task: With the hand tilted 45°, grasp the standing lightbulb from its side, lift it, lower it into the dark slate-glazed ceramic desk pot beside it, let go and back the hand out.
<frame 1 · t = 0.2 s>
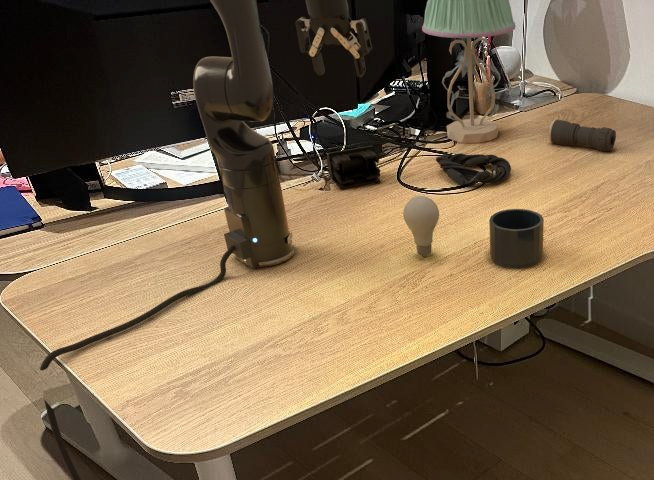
hand: (341, 75, 148), 22 cm above the table, tool pointing down, fingers open, 8 cm apart
lightbulb: (424, 257, 133), on the table
pot: (516, 256, 132), on the table
table lamp: (472, 135, 188), on the table
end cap: (356, 182, 163), on the table
cable: (473, 175, 165), on the table
flashlight: (581, 147, 179), on the table
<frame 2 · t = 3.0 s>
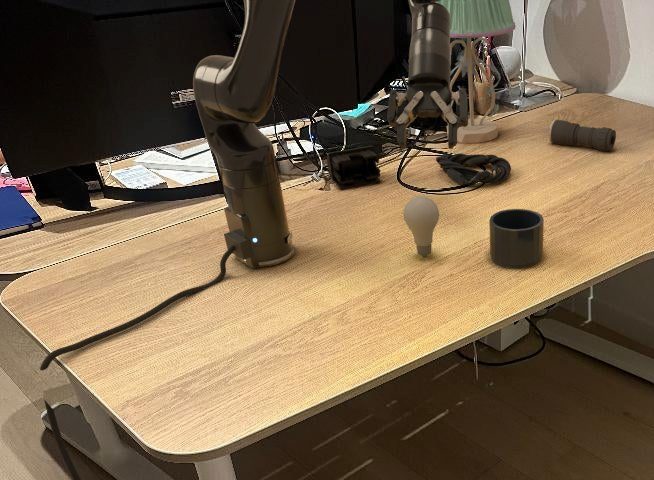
hand: (426, 147, 133), 16 cm above the table, tool tilted 45°, fingers open, 8 cm apart
nothing on the table moved.
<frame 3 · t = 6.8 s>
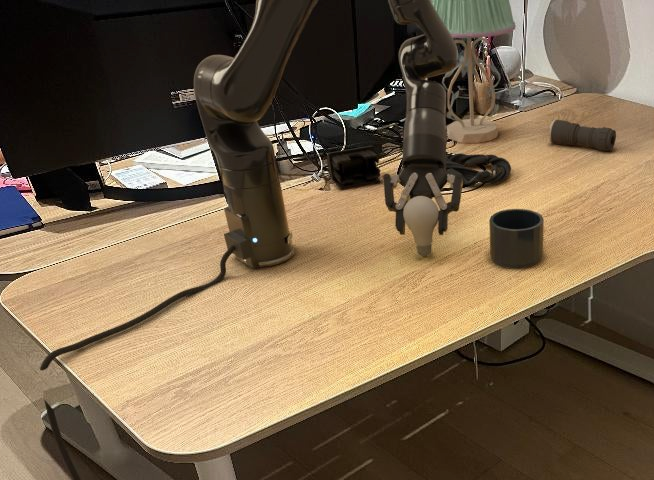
hand: (421, 233, 128), 5 cm above the table, tool tilted 45°, fingers closed on lightbulb, 6 cm apart
lightbulb: (424, 257, 133), on the table, touching gripper
everything else where it was.
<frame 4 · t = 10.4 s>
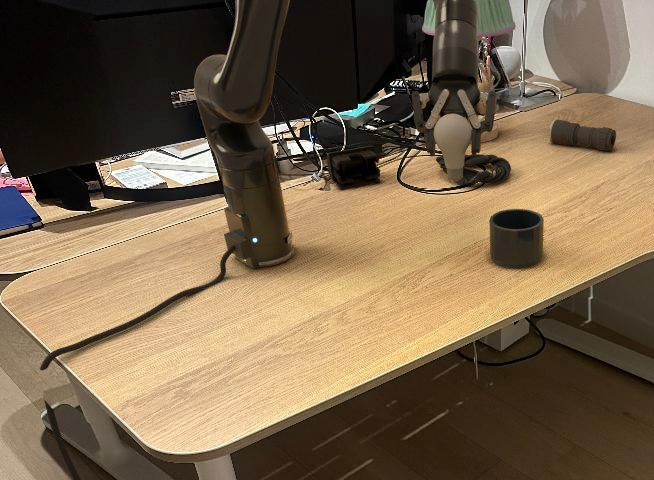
hand: (453, 154, 120), 19 cm above the table, tool tilted 45°, fingers closed on lightbulb, 6 cm apart
lightbulb: (455, 182, 125), point 13 cm above the table, touching gripper
everything else where it was.
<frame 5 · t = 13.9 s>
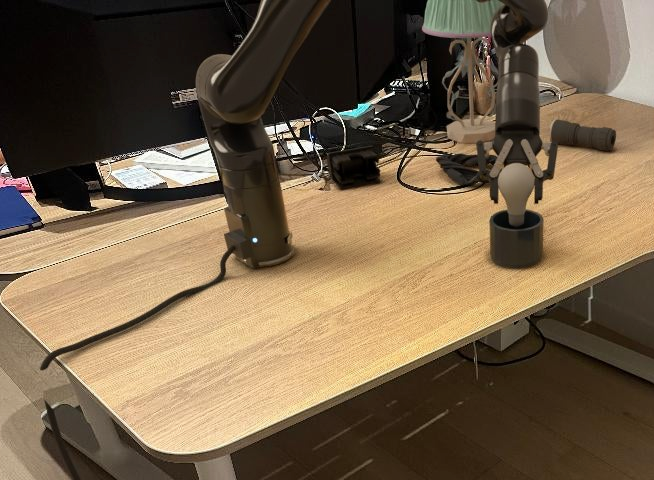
hand: (516, 201, 124), 11 cm above the table, tool tilted 45°, fingers closed on lightbulb, 6 cm apart
lightbulb: (516, 227, 129), point 5 cm above the table, touching gripper
everything else where it was.
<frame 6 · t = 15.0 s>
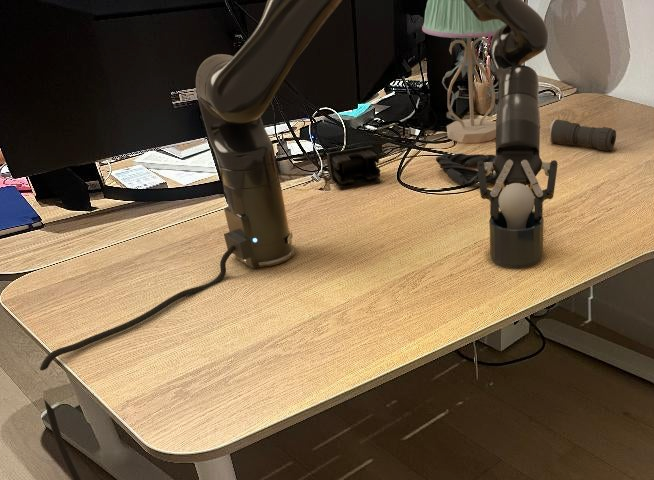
hand: (516, 220, 126), 7 cm above the table, tool tilted 45°, fingers closed on lightbulb, 6 cm apart
lightbulb: (516, 245, 131), point 2 cm above the table, touching gripper
everything else where it was.
when the fingers open (8 cm above the table, at t = 21.0 s): lightbulb drops 2 cm, resting on pot.
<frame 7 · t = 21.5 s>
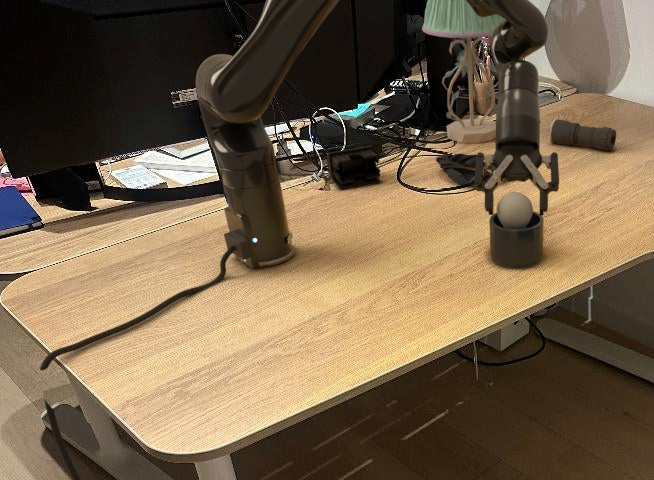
hand: (516, 213, 126), 9 cm above the table, tool tilted 45°, fingers open, 8 cm apart
lightbulb: (515, 254, 132), resting on pot
everything else where it was.
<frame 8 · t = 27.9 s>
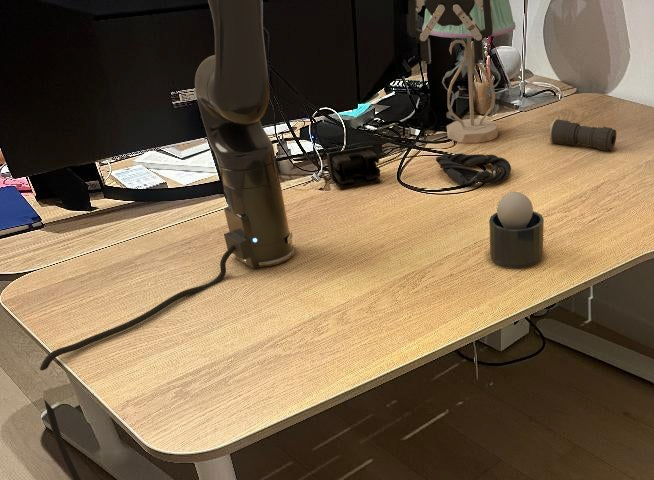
hand: (452, 63, 131), 28 cm above the table, tool pointing down, fingers open, 8 cm apart
nothing on the table moved.
at the end: lightbulb inside the target area in the pot (0.3 cm from its centre), point 0.4 cm above the pot's base; the gripper is holding nothing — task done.
